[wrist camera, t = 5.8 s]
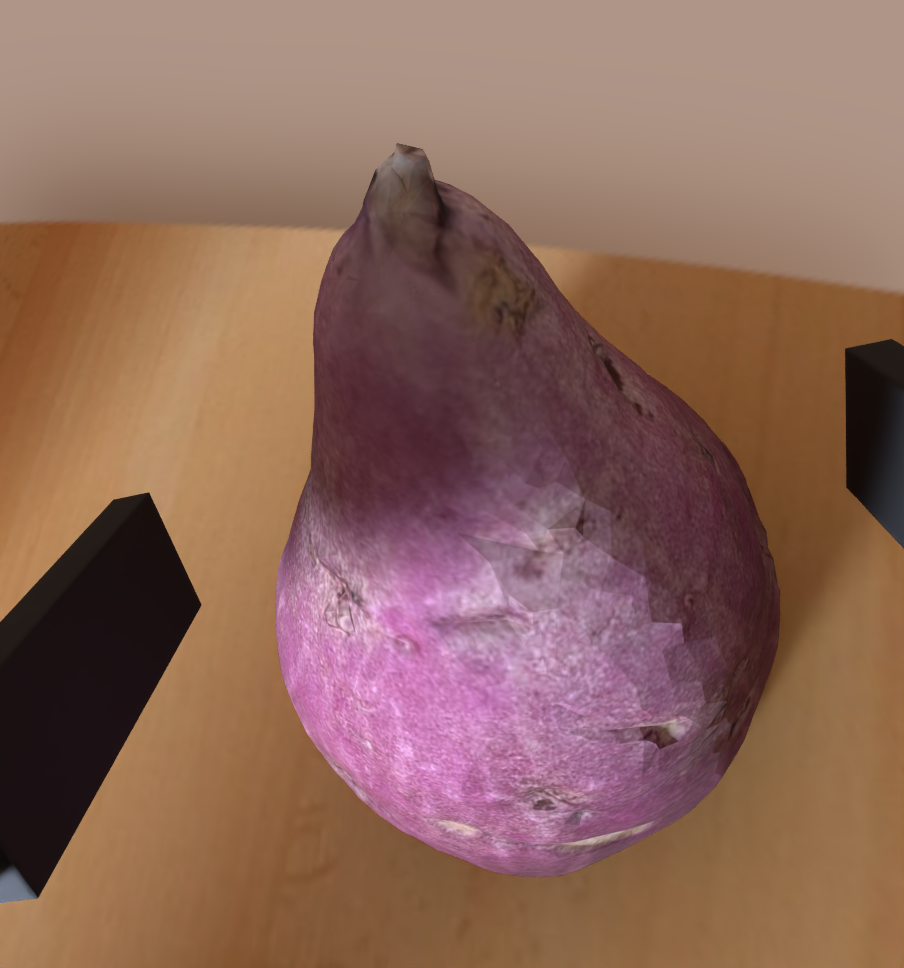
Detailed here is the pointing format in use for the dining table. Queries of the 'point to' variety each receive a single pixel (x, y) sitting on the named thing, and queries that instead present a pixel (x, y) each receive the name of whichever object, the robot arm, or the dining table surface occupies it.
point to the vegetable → (510, 553)
